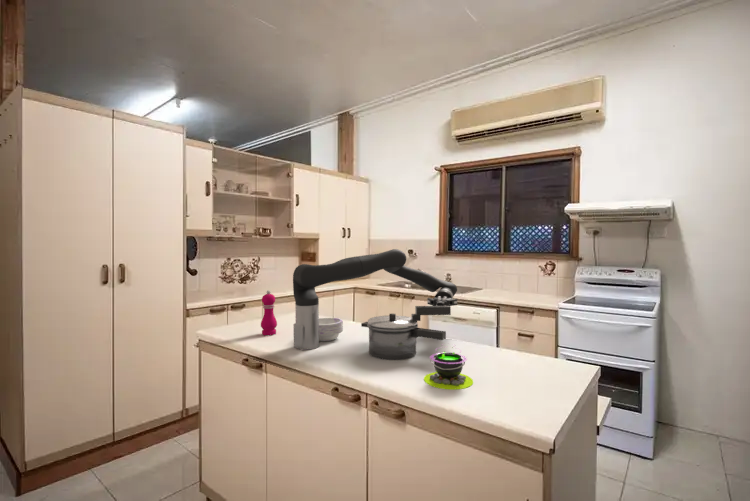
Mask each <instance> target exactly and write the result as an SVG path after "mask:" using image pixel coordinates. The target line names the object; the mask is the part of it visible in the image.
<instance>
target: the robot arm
mask: <svg viewBox="0 0 750 501" xmlns="http://www.w3.org/2000/svg"><path fill="white" fill-rule="evenodd" d="M406 262H407V256H406V253H405V252H403V250H401V249H397V248H393V249H390V250H386V251H383V252H379V253H373V254H372V253H371V254H365V255H364V254H363V255H359V256H357V255H356V256H350V257H346V258H343V259H339V260H337V261H335V262H332V263H328V264H316V265H315V264H307V263H301V264H299V265H297V266H296V267H295V268H294V270H293V273H292V287H293V288H292V290H293V297H294V298H293V299H294V301H295V303H294V304H295V308H294V309H295V323H293V348H295V349H297V350H301V351H304V350H313V349H317V348H319V347H320V341H319V318H320V317H319V313H320V312H319V308H320V307H319V300H320V299H319V296H318V295H317V292H316V287H319V286H321V285H322V286H323V285H326V284H328V283H332V282H339V281H348V280H355V279H359V278H363V277H366V276H369V275H371V274H374V273H377V272H378V271H381V270H384V271H385V272H387V273H389V274H391V275H394V276H397V277H400V278H403V279H404V280H407V281H409V282H412V283H413V284H416V285H418V286H419V287H421V288H423V289H424V290H427V291H428V292H431V293H434V292H436V291H437V292H436V293H435V295H434V297H433V298H432V297H427V299H426V301H427V302H426V304H427V305H428V306H450V307H452V306H453V307H454V306H457V305H458V298H454V296H455V294H456V293H457V292H458V287H457V285H456V284H455V283H453V282H451V281H447V280H442V279H439V278H438V277H436V276H434V275H432V274H430V273H429V272H426V271H423V270H421V269H420V270H419V269H415V268H411V267H409V266H406Z"/></svg>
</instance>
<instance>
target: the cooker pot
mask: <svg viewBox="0 0 750 501" xmlns="http://www.w3.org/2000/svg"><path fill="white" fill-rule="evenodd" d="M360 327H362V328H368V350H369V351H368V353H369V355H370V356H371V357H373V358H375V359H380V360H388V361H399V360H400V361H401V360H408V359H411V358H413V357H415V356H416V355H417V338H424V339H425V338H426V339H432V340H437V341H444V340H446V338H447V332H446V330H439V329H438V330H437V329H430V328H422V327H419V324H418V323H417V325H416V326H414V327H410V328H404V329H383V328H376V327H372V326H370V325H368V321H365V322H361V326H360Z"/></svg>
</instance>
